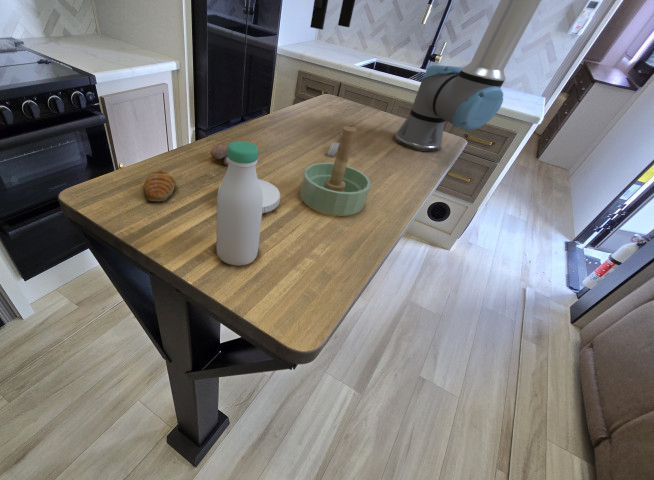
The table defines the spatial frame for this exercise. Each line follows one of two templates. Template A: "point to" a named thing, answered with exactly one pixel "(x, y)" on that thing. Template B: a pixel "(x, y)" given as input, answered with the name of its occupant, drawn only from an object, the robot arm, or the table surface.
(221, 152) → the mushroom
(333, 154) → the fork
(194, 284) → the table surface
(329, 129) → the table surface
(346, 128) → the pestle
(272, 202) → the plastic lid
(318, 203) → the bowl
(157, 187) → the pastry
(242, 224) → the milk bottle
